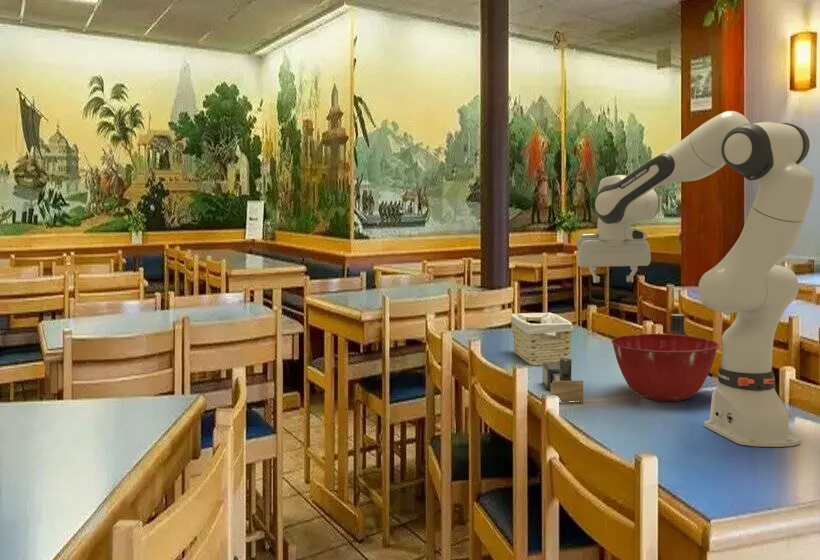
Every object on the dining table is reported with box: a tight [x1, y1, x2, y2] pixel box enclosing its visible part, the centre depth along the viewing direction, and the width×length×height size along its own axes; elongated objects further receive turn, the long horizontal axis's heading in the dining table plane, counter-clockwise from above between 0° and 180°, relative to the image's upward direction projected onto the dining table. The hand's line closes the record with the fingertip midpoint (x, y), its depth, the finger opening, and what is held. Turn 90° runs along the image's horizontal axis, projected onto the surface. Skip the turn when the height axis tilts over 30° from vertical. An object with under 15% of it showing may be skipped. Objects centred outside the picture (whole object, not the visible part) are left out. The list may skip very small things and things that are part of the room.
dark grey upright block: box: [552, 358, 573, 381], centre depth 208 cm, size 12×4×10 cm, turn 178°
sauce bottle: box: [667, 313, 687, 336], centre depth 225 cm, size 6×6×20 cm
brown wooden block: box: [550, 380, 584, 403], centre depth 202 cm, size 4×8×6 cm, turn 88°
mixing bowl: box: [610, 333, 720, 402], centre depth 207 cm, size 28×28×15 cm
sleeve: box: [542, 362, 560, 391], centre depth 219 cm, size 9×7×6 cm
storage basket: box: [510, 312, 574, 366], centre depth 258 cm, size 24×16×15 cm
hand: (613, 282), depth 209 cm, fingers open, 8 cm apart
